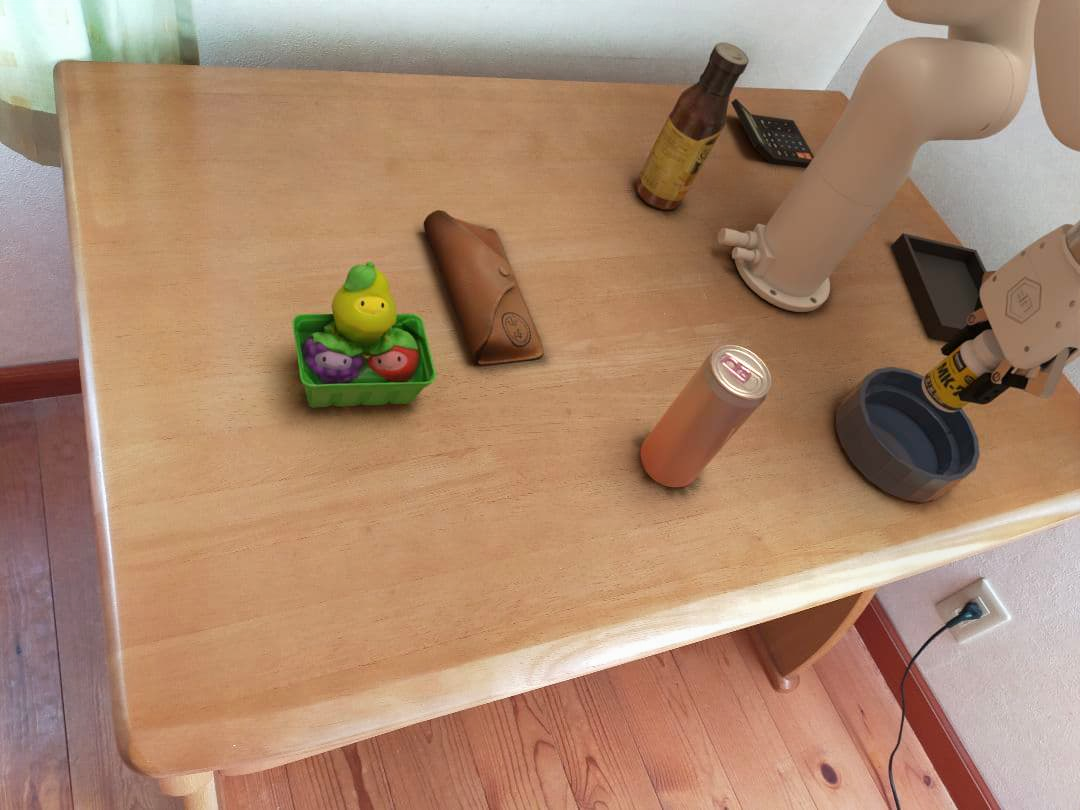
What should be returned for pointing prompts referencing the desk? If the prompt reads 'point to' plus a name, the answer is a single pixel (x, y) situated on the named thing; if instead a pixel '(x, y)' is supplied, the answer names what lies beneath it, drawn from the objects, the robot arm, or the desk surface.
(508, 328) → the sunglasses case
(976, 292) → the tray
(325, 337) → the fruit basket
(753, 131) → the calculator
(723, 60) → the sauce bottle
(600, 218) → the desk surface
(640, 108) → the desk surface
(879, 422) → the bowl
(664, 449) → the beverage can
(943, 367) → the supplement bottle
